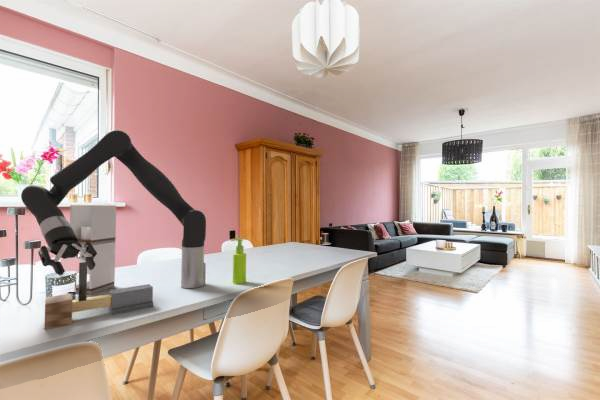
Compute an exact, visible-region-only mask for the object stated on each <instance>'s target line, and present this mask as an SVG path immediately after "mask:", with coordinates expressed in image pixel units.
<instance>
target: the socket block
mask: <svg viewBox="0 0 600 400" xmlns="http://www.w3.org/2000/svg"><path fill="white" fill-rule="evenodd" d="M72 300H73V296H72V293H66V294H59V295H53V296H46V297H45V300H44V301H45V302H44V325H43V326H44V329H43V330H47V329H48V330H49V329H53V328H58V327H62V326H63V327H64V326H67V325H68V326H69V325H72V324H73V313H72Z"/></svg>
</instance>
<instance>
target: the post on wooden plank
mask: <svg viewBox="0 0 600 400" xmlns="http://www.w3.org/2000/svg"><path fill="white" fill-rule="evenodd" d="M78 265H79V266H78V285H79V293H77V295H78V296H77V297H78V299H72V314H73V313H78V312H83V311H89V310H90V311H91V310H93V309H94V310H95V309H98V308H99V309H102V308H105V307H109V306H111V301H112V295H111V294H110V293H108V294H102V295H96V296H95V295H94V296H90V297H87V295H88V294H87V282H88V274H87V262H81V263H80V262H79V264H78Z"/></svg>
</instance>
